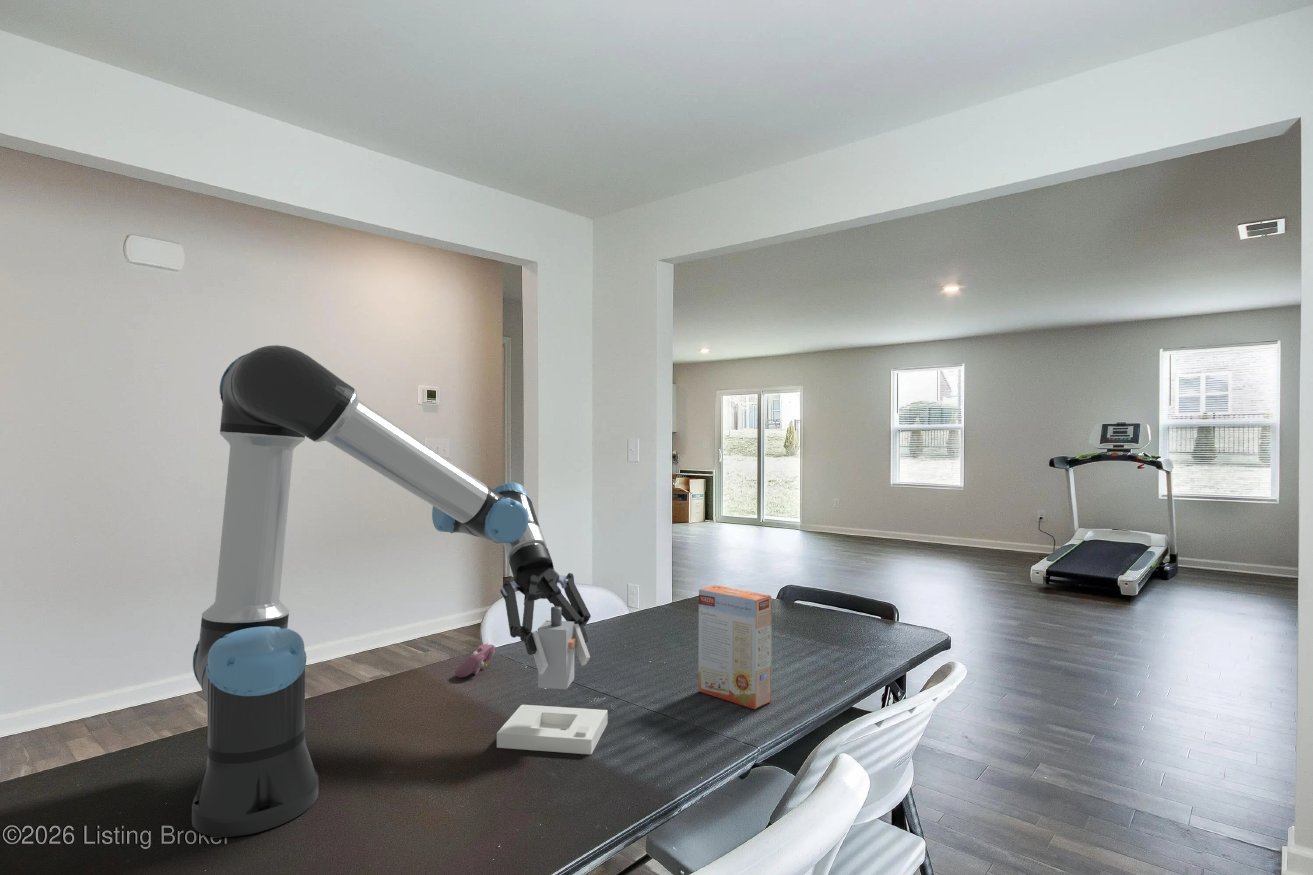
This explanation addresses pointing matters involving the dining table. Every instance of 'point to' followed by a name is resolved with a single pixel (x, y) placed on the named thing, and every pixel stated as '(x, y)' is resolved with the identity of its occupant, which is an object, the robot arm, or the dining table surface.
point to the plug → (557, 651)
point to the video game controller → (476, 660)
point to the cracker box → (735, 645)
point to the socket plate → (553, 729)
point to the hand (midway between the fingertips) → (565, 665)
